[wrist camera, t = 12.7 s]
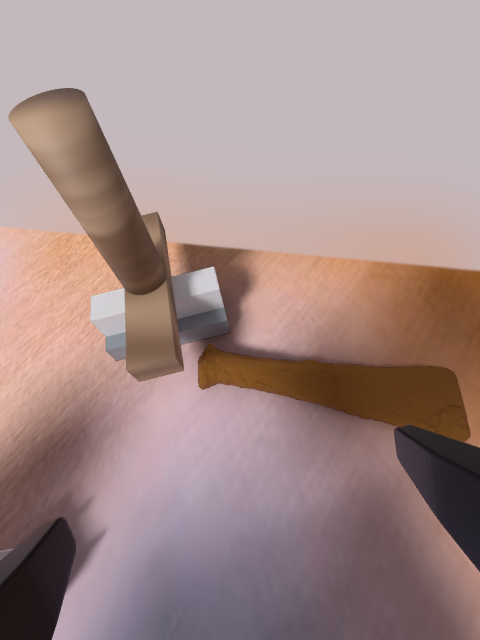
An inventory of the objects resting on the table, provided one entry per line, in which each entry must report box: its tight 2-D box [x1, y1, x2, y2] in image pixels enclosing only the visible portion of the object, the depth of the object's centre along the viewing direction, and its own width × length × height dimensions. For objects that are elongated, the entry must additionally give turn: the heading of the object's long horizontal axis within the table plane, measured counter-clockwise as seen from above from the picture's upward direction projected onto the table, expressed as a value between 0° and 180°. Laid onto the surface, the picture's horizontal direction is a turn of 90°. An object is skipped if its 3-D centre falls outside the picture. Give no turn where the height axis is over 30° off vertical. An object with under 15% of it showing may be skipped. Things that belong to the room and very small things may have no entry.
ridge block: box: [90, 267, 230, 361], centre depth 25 cm, size 10×5×4 cm, turn 103°
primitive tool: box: [198, 344, 470, 442], centre depth 22 cm, size 19×6×4 cm, turn 83°
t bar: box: [9, 88, 184, 382], centre depth 18 cm, size 14×3×13 cm, turn 13°
